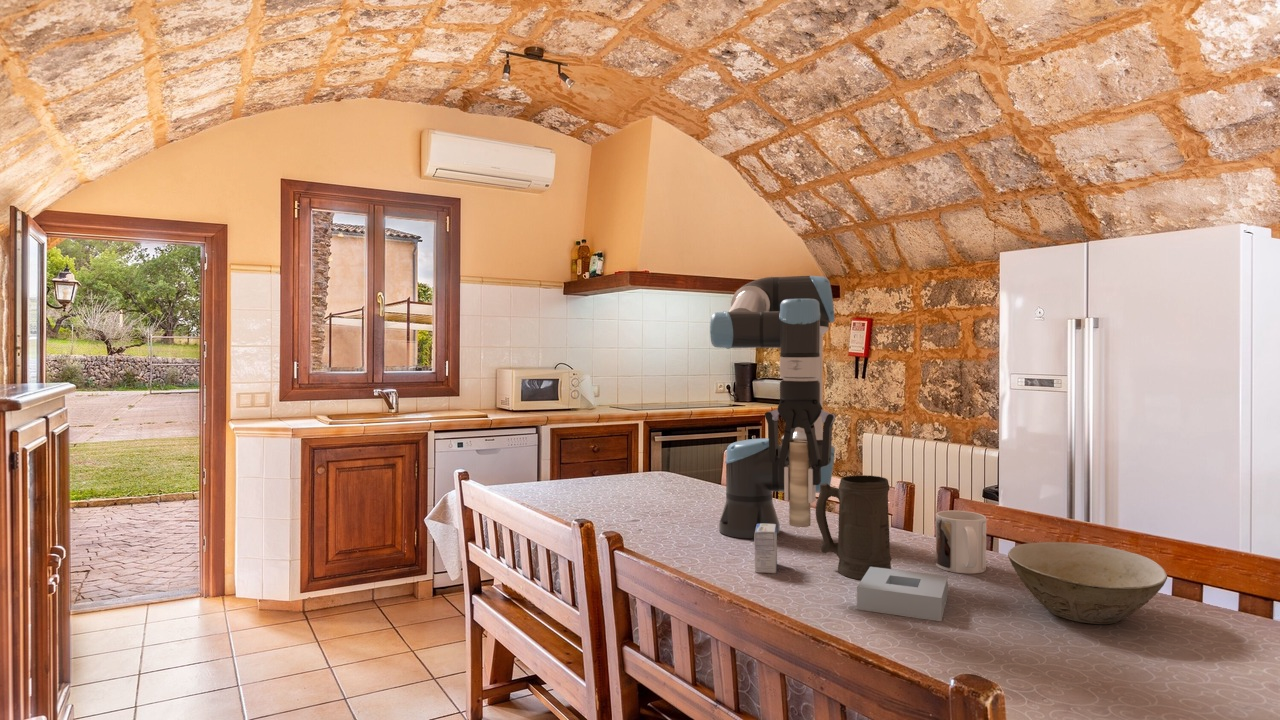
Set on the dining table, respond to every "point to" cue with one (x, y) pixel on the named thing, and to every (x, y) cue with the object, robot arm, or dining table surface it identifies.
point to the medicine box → (765, 548)
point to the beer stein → (857, 524)
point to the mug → (961, 541)
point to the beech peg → (799, 484)
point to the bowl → (1087, 579)
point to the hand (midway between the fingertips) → (799, 500)
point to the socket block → (903, 593)
